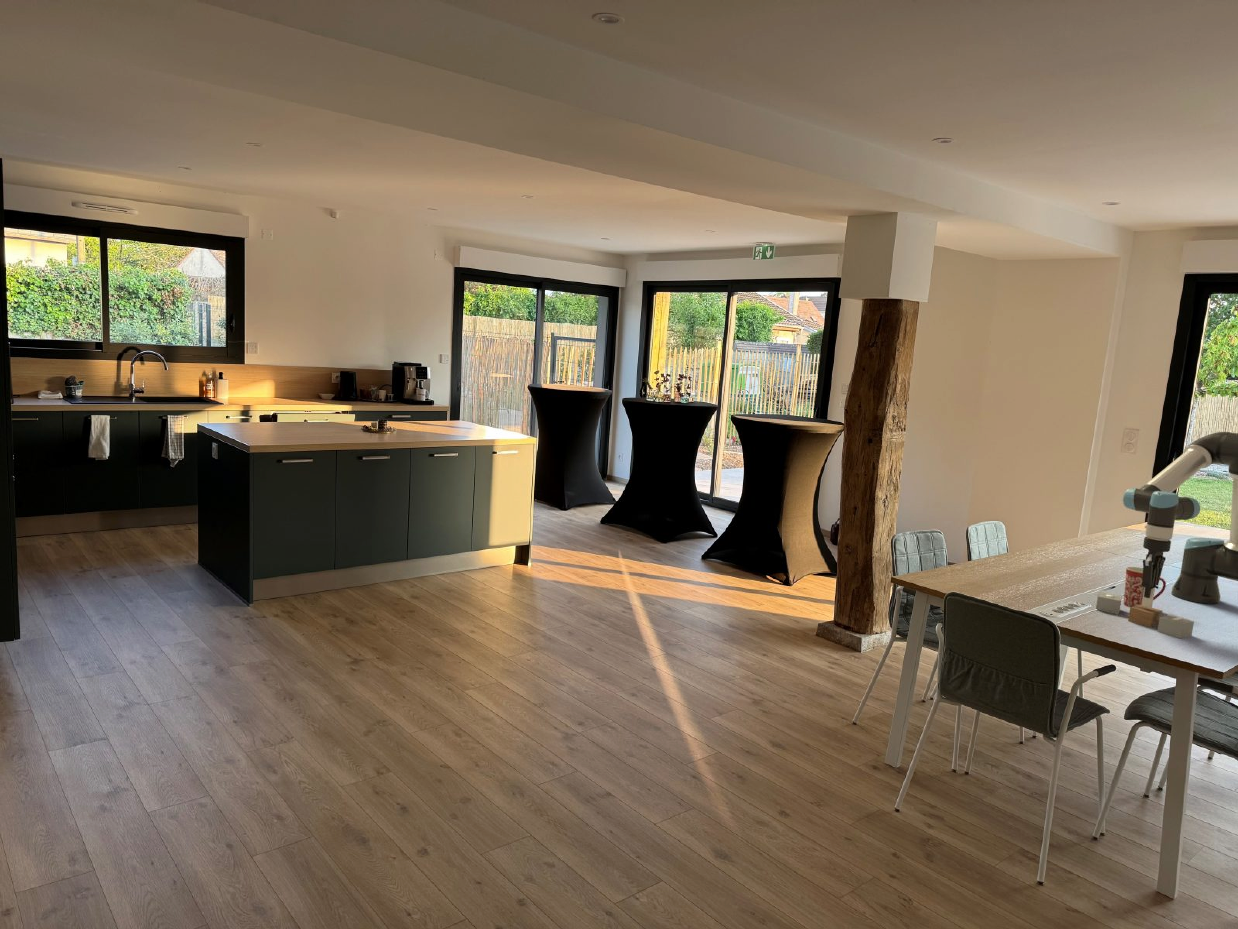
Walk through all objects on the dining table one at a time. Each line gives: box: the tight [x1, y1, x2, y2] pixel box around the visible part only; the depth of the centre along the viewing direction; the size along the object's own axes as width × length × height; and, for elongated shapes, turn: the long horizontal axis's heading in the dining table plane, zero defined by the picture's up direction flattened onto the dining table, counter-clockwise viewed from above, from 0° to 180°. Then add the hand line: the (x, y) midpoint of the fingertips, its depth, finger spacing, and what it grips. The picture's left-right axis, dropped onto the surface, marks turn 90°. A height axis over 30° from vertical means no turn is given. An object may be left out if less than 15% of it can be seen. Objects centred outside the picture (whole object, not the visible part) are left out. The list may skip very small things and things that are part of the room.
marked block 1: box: [1095, 591, 1123, 615], centre depth 290 cm, size 7×7×5 cm
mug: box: [1123, 566, 1167, 608], centre depth 295 cm, size 13×9×14 cm
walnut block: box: [1128, 605, 1163, 628], centre depth 278 cm, size 7×7×5 cm
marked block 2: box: [1157, 614, 1195, 639], centre depth 268 cm, size 7×7×5 cm
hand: (1146, 606), depth 277 cm, fingers closed
